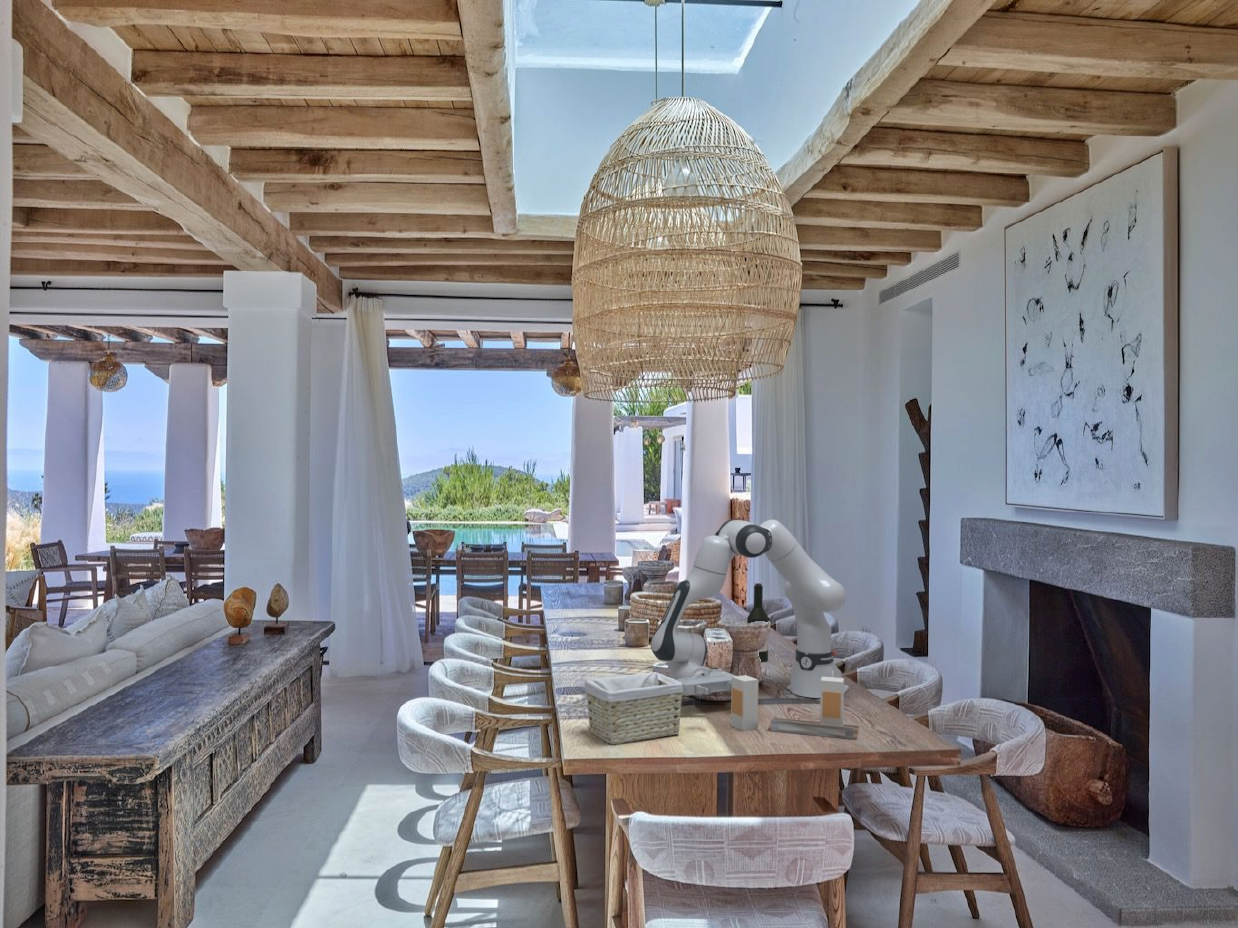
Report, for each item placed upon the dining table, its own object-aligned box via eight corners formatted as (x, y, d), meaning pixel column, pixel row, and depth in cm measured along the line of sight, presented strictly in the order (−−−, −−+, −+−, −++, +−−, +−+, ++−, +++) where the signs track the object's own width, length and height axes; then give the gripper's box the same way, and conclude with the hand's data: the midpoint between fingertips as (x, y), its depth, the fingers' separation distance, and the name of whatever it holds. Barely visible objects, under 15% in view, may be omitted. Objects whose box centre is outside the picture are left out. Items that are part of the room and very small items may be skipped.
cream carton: (745, 723, 253) (745, 675, 253) (757, 729, 248) (758, 679, 248) (730, 725, 251) (731, 676, 251) (742, 731, 245) (743, 681, 246)
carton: (821, 726, 246) (822, 676, 246) (843, 728, 244) (844, 678, 245) (820, 731, 241) (820, 680, 241) (842, 733, 239) (842, 682, 240)
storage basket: (607, 747, 229) (608, 691, 229) (581, 731, 244) (582, 678, 244) (685, 736, 240) (685, 682, 240) (656, 721, 254) (656, 670, 255)
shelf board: (773, 722, 254) (773, 707, 254) (858, 731, 247) (859, 715, 247) (766, 736, 241) (767, 719, 241) (856, 745, 234) (856, 728, 234)
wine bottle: (765, 658, 347) (766, 582, 347) (770, 662, 338) (771, 585, 339) (744, 657, 346) (745, 582, 347) (748, 662, 338) (749, 584, 338)
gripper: (668, 673, 267) (692, 683, 255) (724, 667, 276) (750, 676, 264) (668, 694, 267) (692, 704, 255) (723, 687, 276) (749, 697, 264)
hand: (722, 690), depth 259 cm, fingers open, 8 cm apart
